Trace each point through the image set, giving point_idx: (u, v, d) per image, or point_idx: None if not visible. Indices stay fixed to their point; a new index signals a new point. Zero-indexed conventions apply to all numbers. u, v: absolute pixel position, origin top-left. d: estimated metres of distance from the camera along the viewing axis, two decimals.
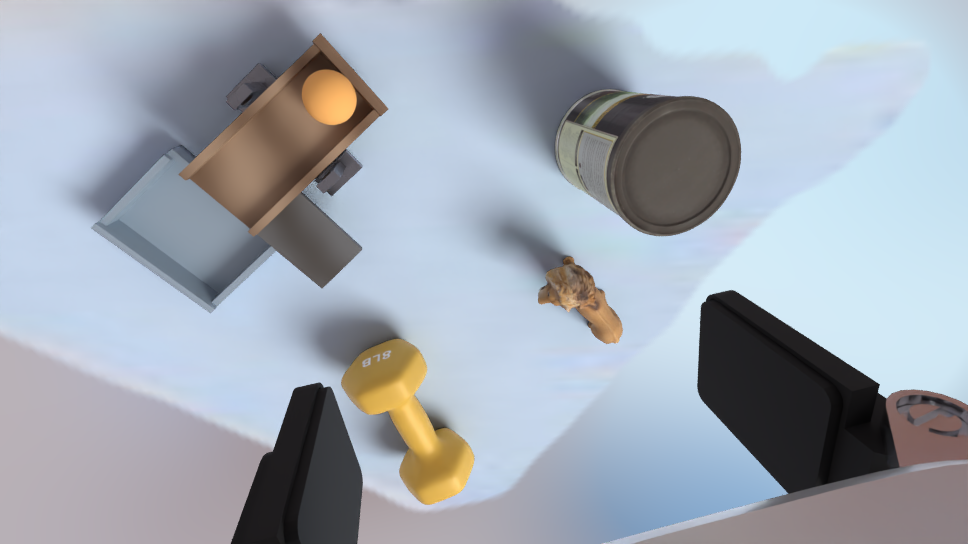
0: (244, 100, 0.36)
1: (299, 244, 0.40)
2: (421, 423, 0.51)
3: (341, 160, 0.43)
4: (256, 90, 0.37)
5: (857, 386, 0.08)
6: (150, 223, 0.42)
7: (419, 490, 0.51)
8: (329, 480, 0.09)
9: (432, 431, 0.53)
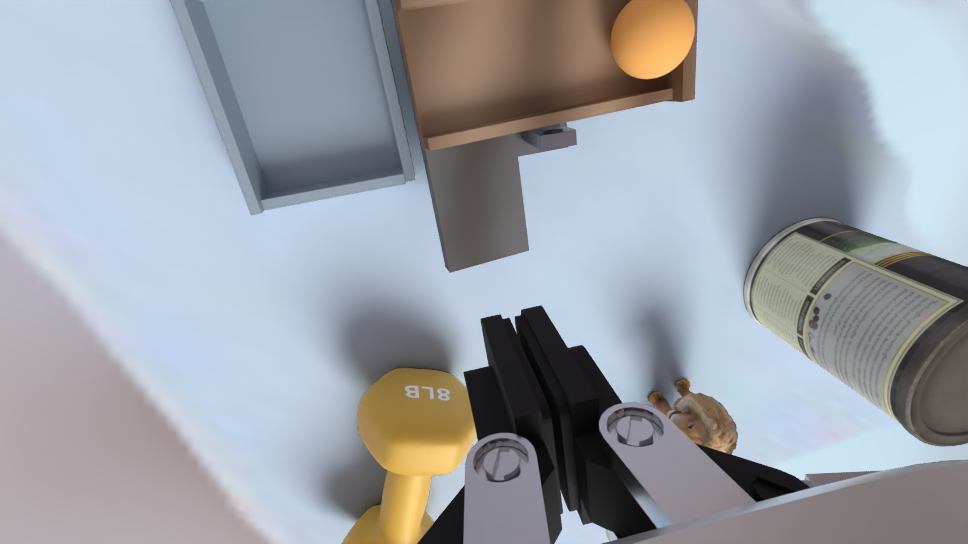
0: None
1: (465, 197, 0.26)
2: (423, 501, 0.35)
3: None
4: None
5: (580, 399, 0.08)
6: (246, 38, 0.26)
7: None
8: None
9: (423, 514, 0.37)
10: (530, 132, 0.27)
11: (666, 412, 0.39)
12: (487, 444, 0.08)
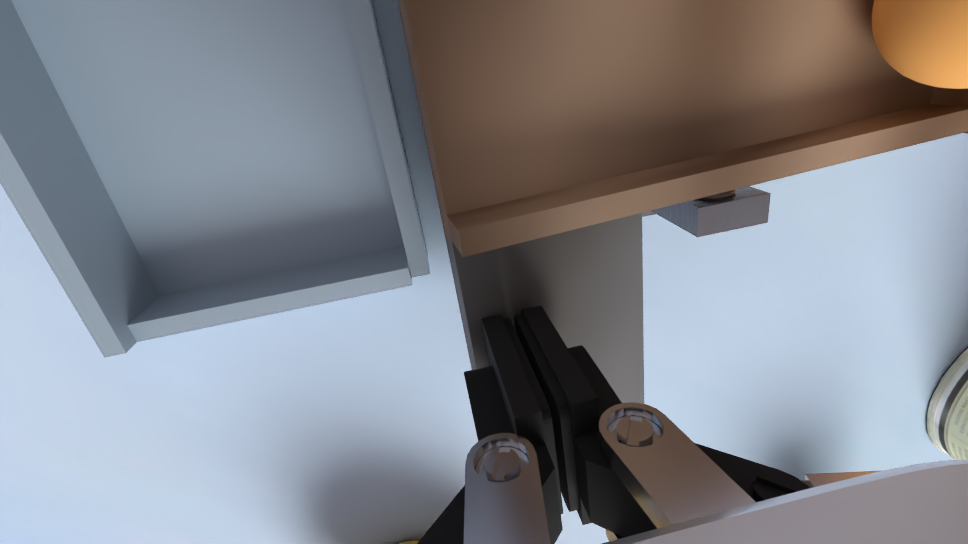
0: None
1: None
2: None
3: None
4: None
5: (580, 399, 0.08)
6: (79, 3, 0.12)
7: None
8: None
9: None
10: None
11: None
12: (487, 444, 0.08)
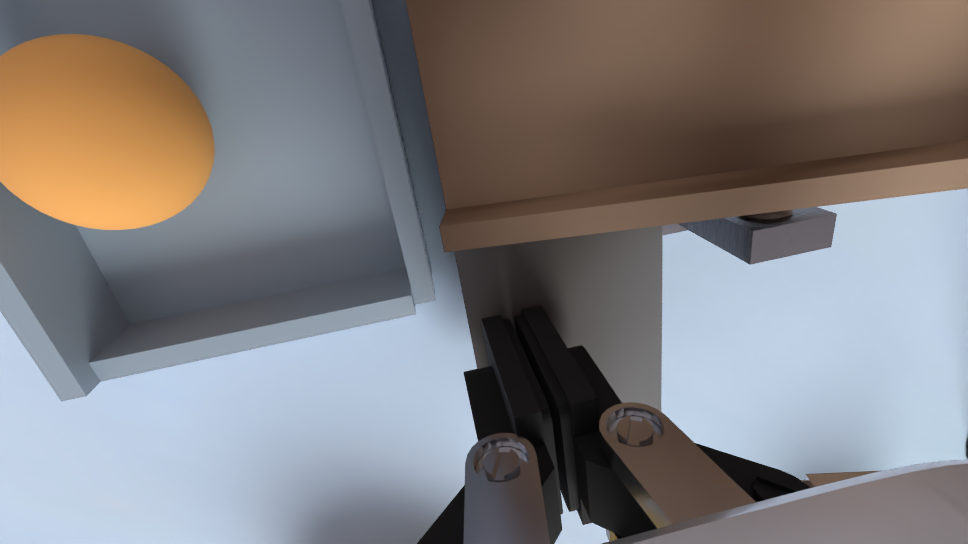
0: None
1: None
2: None
3: None
4: None
5: (580, 399, 0.08)
6: None
7: None
8: None
9: None
10: None
11: None
12: (487, 444, 0.08)
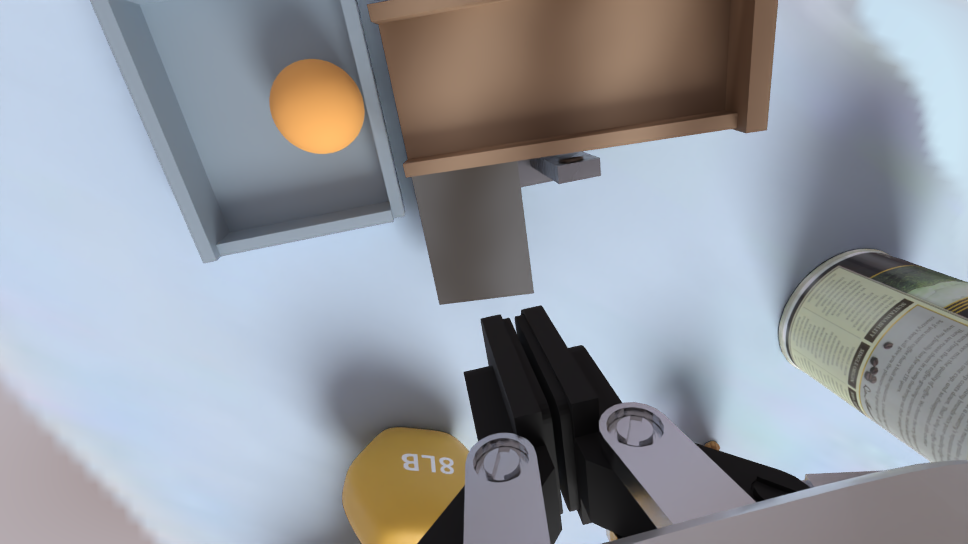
0: None
1: (456, 227, 0.23)
2: None
3: None
4: None
5: (580, 399, 0.08)
6: (195, 49, 0.21)
7: None
8: None
9: None
10: (542, 160, 0.23)
11: None
12: (487, 444, 0.08)
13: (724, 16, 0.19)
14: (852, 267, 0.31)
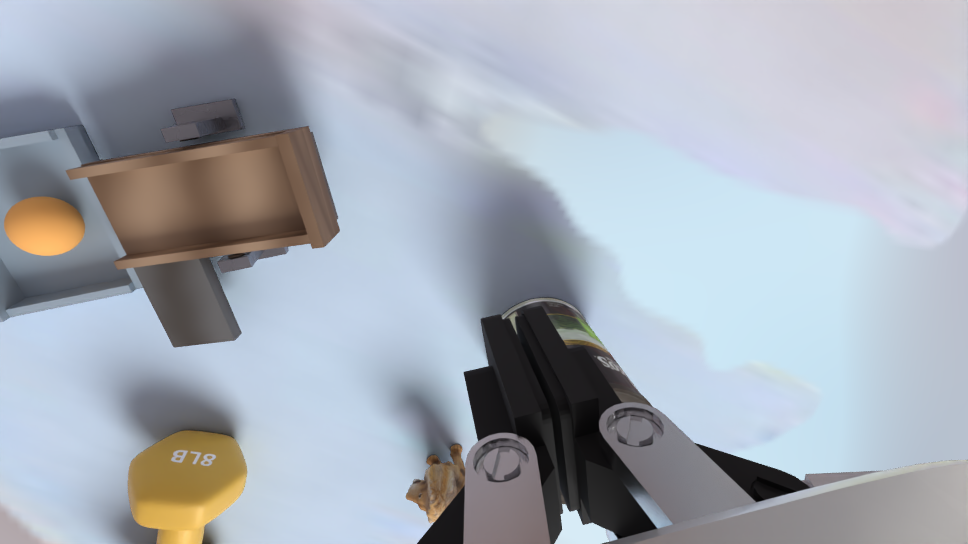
0: (185, 139, 0.29)
1: (170, 297, 0.34)
2: None
3: None
4: (207, 133, 0.30)
5: (580, 399, 0.08)
6: None
7: None
8: None
9: None
10: None
11: None
12: (487, 444, 0.08)
13: None
14: (520, 313, 0.41)
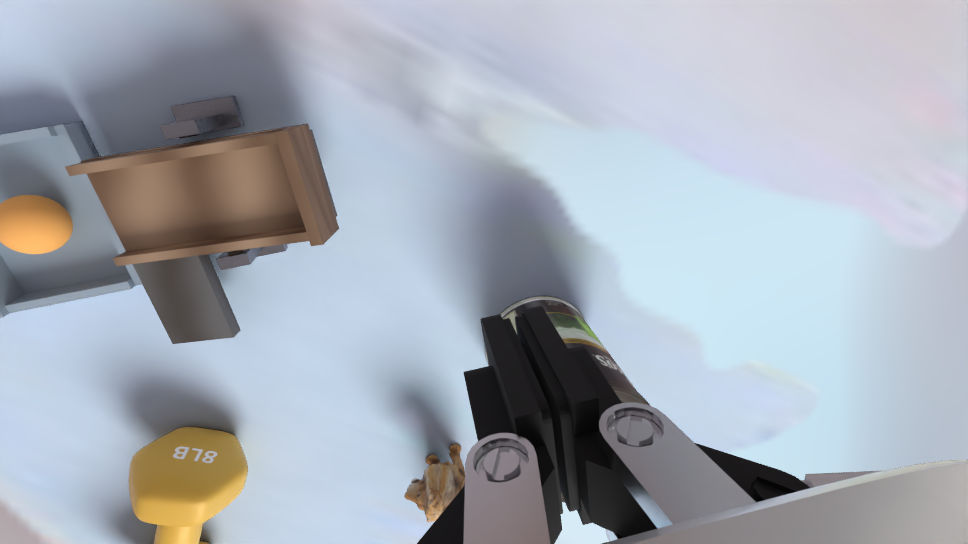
0: (184, 135, 0.29)
1: (169, 294, 0.34)
2: None
3: None
4: (207, 130, 0.30)
5: (580, 399, 0.08)
6: None
7: None
8: None
9: None
10: None
11: None
12: (487, 444, 0.08)
13: None
14: (519, 312, 0.42)
